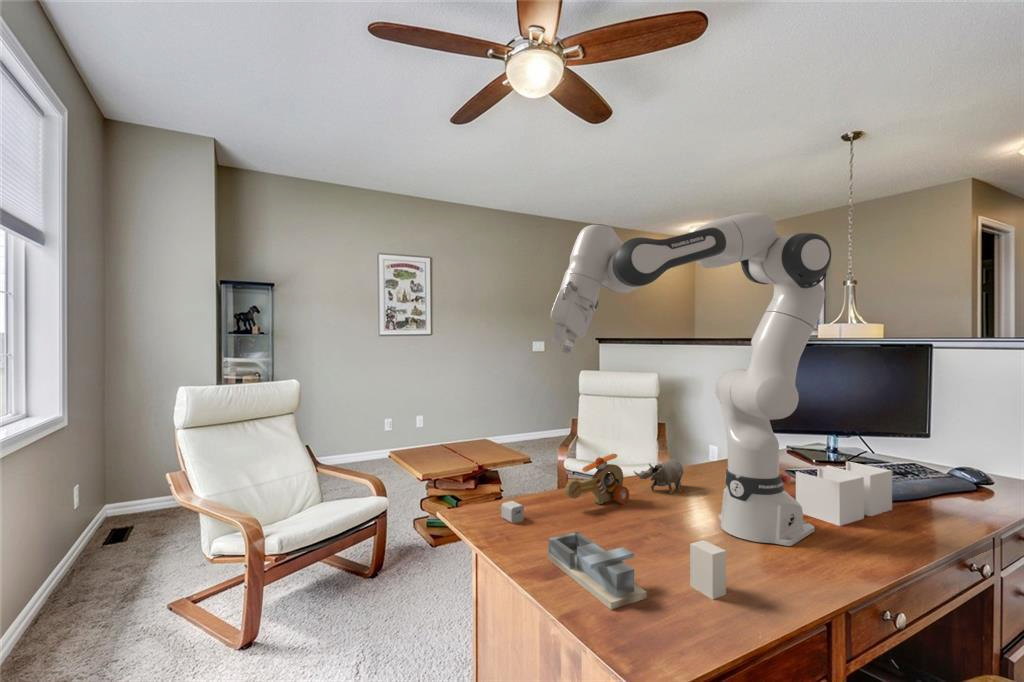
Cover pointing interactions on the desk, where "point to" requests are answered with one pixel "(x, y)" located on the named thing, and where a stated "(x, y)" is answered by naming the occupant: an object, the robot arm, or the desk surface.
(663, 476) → the rhinoceros figurine
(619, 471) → the toy helicopter
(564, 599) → the desk surface
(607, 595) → the jig
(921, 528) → the desk surface
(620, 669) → the desk surface
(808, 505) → the storage container
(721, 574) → the cream upright slab block
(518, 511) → the usb wall charger
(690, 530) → the desk surface
